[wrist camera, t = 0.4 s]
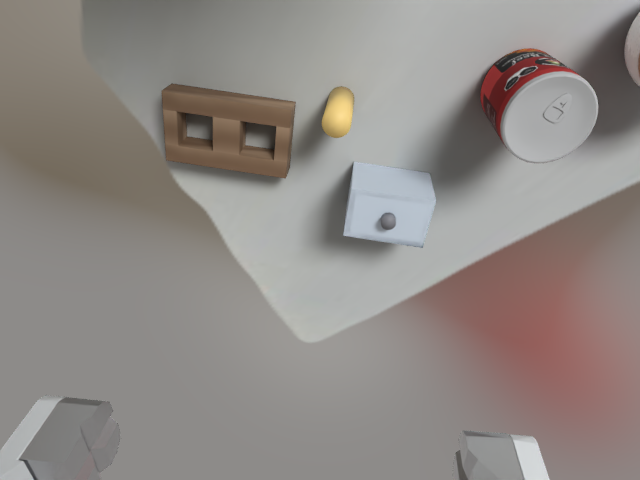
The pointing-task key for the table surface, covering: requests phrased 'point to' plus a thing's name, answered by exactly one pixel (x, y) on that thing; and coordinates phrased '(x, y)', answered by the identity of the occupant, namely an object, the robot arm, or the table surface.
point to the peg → (338, 112)
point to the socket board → (227, 130)
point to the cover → (389, 204)
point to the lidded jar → (633, 50)
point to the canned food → (538, 105)
